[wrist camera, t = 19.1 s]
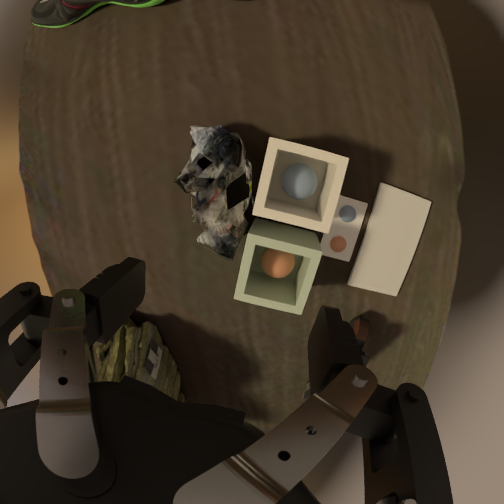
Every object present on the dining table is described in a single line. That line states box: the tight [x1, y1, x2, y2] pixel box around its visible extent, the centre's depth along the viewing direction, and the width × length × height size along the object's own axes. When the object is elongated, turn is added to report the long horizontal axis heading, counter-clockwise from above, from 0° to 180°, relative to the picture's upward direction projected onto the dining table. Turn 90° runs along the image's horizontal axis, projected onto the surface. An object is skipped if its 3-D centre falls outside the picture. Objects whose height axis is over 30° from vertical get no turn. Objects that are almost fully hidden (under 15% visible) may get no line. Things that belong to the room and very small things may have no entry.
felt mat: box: [347, 182, 431, 296], centre depth 37 cm, size 16×9×1 cm, turn 168°
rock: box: [96, 318, 186, 403], centre depth 43 cm, size 31×20×14 cm
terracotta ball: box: [261, 248, 295, 278], centre depth 37 cm, size 5×5×5 cm
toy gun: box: [302, 317, 370, 401], centre depth 43 cm, size 2×18×12 cm, turn 159°
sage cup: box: [234, 217, 323, 315], centre depth 36 cm, size 9×9×8 cm
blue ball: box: [281, 164, 318, 200], centre depth 33 cm, size 5×5×5 cm
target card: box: [320, 195, 368, 262], centre depth 37 cm, size 9×5×1 cm, turn 168°
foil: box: [174, 125, 254, 261], centre depth 35 cm, size 12×11×15 cm
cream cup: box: [252, 137, 349, 234], centre depth 32 cm, size 9×9×8 cm
